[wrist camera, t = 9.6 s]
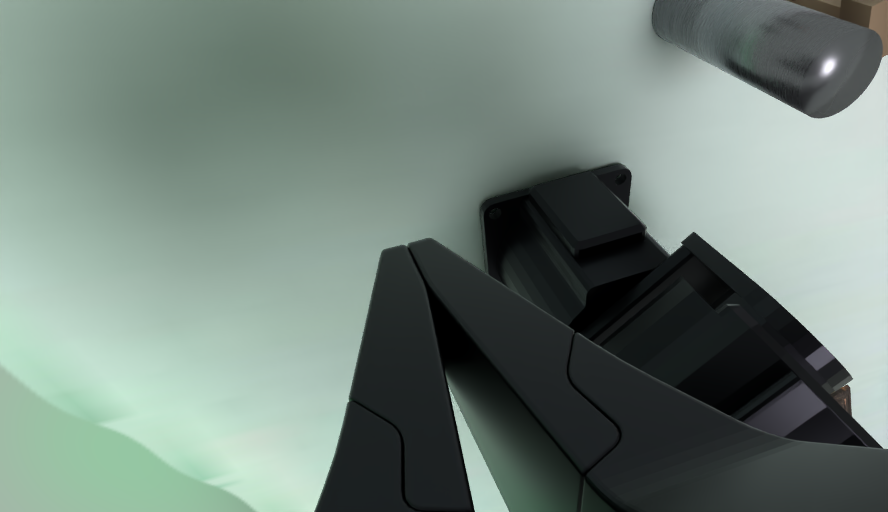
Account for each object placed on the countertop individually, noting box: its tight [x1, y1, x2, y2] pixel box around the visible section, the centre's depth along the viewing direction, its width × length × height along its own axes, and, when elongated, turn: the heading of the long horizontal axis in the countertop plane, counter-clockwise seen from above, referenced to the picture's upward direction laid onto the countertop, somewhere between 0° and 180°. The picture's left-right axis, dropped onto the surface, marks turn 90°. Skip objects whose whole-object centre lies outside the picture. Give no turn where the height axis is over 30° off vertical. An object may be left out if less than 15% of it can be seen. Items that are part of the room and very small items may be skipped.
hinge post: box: [652, 0, 883, 118], centre depth 18 cm, size 2×2×7 cm
